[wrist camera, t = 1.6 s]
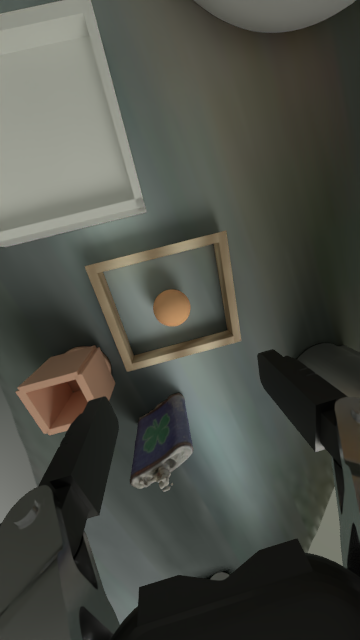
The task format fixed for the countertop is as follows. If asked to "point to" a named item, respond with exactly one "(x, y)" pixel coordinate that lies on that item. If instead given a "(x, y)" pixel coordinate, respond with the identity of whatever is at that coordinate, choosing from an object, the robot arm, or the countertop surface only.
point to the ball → (171, 307)
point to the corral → (178, 349)
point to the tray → (59, 126)
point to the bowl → (273, 13)
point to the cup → (66, 387)
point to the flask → (161, 443)
